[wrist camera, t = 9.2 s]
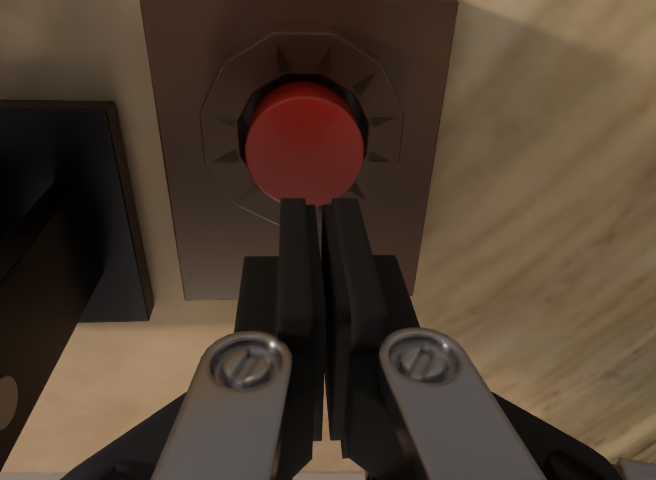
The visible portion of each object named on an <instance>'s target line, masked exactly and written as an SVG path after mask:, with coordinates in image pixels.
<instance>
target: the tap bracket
mask: <svg viewBox="0 0 656 480" xmlns="http://www.w3.org/2000/svg"><path fill="white" fill-rule="evenodd" d="M153 307H154V301H153V296H152V291H151V286H150V281H149V276H148V270H147V265H146V260H145V255H144V250H143V244H142V239H141V234H140V229H139V224H138V218H137V213H136V208H135V203H134V198H133V193H132V187H131V182H130V177H129V172H128V167H127V161H126V156H125V151H124V146H123V141H122V135H121V130H120V125H119V120H118V115H117V110H116V104H115V102H113V101H51V100H0V472H1V470H2V468H3V466H4V464H5V462H6V460H7V458H8V456H9V454H10V452H11V450H12V449H13V447H14V445H15V443H16V441H17V439H18V437H19V435H20V433H21V431H22V429H23V427H24V425H25V423H26V422H27V420H28V418H29V416H30V414H31V412H32V410H33V408H34V406H35V404H36V402H37V400H38V398H39V396H40V395H41V393H42V391H43V389H44V387H45V385H46V383H47V381H48V379H49V377H50V375H51V373H52V371H53V369H54V368H55V366H56V364H57V362H58V360H59V358H60V356H61V354H62V352H63V350H64V348H65V346H66V344H67V342H68V341H69V339H70V337H71V335H72V333H73V331H74V329H75V327H76V325H77V323H89V322H133V321H149V319H150V316H151V313H152V310H153Z"/></svg>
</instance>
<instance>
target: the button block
mask: <svg viewBox="0 0 656 480" xmlns="http://www.w3.org/2000/svg"><path fill="white" fill-rule="evenodd" d="M140 6H141V12H142V19H143V26H144V32H145V39H146V46H147V52H148V59H149V66H150V72H151V79H152V86H153V92H154V99H155V105H156V112H157V119H158V125H159V132H160V139H161V145H162V152H163V159H164V165H165V172H166V179H167V185H168V192H169V199H170V205H171V212H172V219H173V225H174V232H175V239H176V245H177V252H178V258H179V265H180V272H181V278H182V285H183V292H184V298H185V300H235V299H239V292H240V284H241V277H242V269H243V262H244V257H245V256H279V235H280V202H277V201H275V200H274V199H272V198H270V197H269V196H268V195H266V194H265V193H264V192H263V191H262V190H261V189H260V188H259V187H258V186H257V185H256V184H255V182H254V181H253V179H252V177H251V176H250V173H249V171H248V169H247V165H246V161H245V143H246V137H247V131H248V126H249V121H250V118H251V115H252V113H253V110H254V108H255V107H256V105H257V104H258V102H259V101H260V100H261V99H262V98H263V97H264V96H265V95H266V94H267V93H268V92H270V91H271V90H273V89H274V88H276V87H278V86H280V85H283V84H286V83H289V82H294V81H312V82H316V83H320V84H323V85H326V86H328V87H330V88H331V89H333V90H335V91H336V92H337V93H339V94H340V95H341V96H342V97H343V98H344V99H345V100H346V102H347V103H348V104H349V106H350V107H351V109H352V111H353V113H354V116H355V118H356V121H357V124H358V126H359V129H360V132H361V135H362V139H363V144H364V158H363V164H362V167H361V170H360V172H359V175H358V177H357V178H356V180H355V181H354V183H353V184H352V185H351V187H350V188H349V189H348V190H347V191H346V192H345V193H343V194H342V195H341V196H340V197H338V198H357V199H358V202H359V206H360V209H361V213H362V217H363V221H364V224H365V228H366V232H367V236H368V239H369V243H370V247H371V251H372V254H373V255H395V256H396V258H397V261H398V264H399V267H400V269H401V272H402V275H403V278H404V281H405V284H406V287H407V290H408V293H409V296H413V291H414V285H415V278H416V272H417V266H418V259H419V253H420V246H421V240H422V234H423V227H424V221H425V214H426V208H427V202H428V195H429V189H430V182H431V176H432V169H433V163H434V157H435V150H436V144H437V137H438V131H439V125H440V118H441V112H442V105H443V99H444V93H445V86H446V80H447V73H448V67H449V61H450V54H451V48H452V41H453V35H454V28H455V22H456V16H457V9H458V1H457V0H140ZM331 203H332V201H331V202H329V203H326V204H323V205H331ZM323 205H320V206H315V208H316V218H317V228H318V237H319V247H320V257H321V233H322V206H323Z"/></svg>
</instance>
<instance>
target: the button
mask: <svg viewBox="0 0 656 480" xmlns="http://www.w3.org/2000/svg"><path fill="white" fill-rule="evenodd" d="M363 158H364V144H363V139H362V135H361V132H360V129H359V126H358V124H357V121H356V118H355V116H354V113H353V111H352V109H351V107H350V106H349V104H348V103H347V102H346V100H345V99H344V98H343V97H342V96H341V95H340V94H339V93H337V92H336V91H335V90H333V89H331V88H330V87H328V86H326V85H323V84H320V83H316V82H312V81H294V82H289V83H286V84H283V85H280V86H278V87H276V88H274V89H273V90H271V91H270V92H268V93H267V94H266V95H265V96H264V97H263V98H262V99H261V100H260V101H259V102H258V104H257V105H256V107H255V108H254V110H253V113H252V115H251V118H250V121H249V126H248V131H247V137H246V143H245V161H246V165H247V169H248V171H249V173H250V176H251V177H252V179H253V181H254V182H255V184H256V185H257V186H258V187H259V188H260V189H261V190H262V191H263V192H264V193H265V194H266V195H268V196H269V197H270V198H272V199H274V200H275V201H277V202H280V198H305V201H306V205H315V206H320V205H323V204H326V203H329V202H331V201H332V198H338V197H340V196H341V195H342V194H343V193H345V192H346V191H347V190H348V189H349V188H350V187H351V185H352V184H353V183H354V181H355V180H356V178H357V177H358V175H359V172H360V170H361V167H362V164H363Z"/></svg>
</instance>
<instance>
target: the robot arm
mask: <svg viewBox="0 0 656 480" xmlns="http://www.w3.org/2000/svg"><path fill="white" fill-rule="evenodd" d="M324 373H325V385H326V397H327V409H328V421H329V432H330V440H331V441H332V440H341V448H342V458H350V459H351V460H352V461H354V462H355V463H356V464H358V465H359V466H360V467H362V468H363V469H364V470H365V478H366V480H656V464H654V463H648V462H642V461H636V460H629V459H623V458H619V459H618V461H617V463H616V465H614V464H610V462H609V461H608V460H607V459H606V458H605V457H603V456H602V455H600V454H599V453H597V452H596V451H595V450H593V449H592V448H590V447H589V446H587V445H585V444H583V443H582V442H580V441H578V440H576V439H574V438H573V437H571V436H569V435H567V434H566V433H564V432H562V431H560V430H559V429H557V428H555V427H553V426H551V425H550V424H548V423H546V422H544V421H543V420H541V419H539V418H537V417H535V416H534V415H532V414H530V413H528V412H527V411H525V410H523V409H521V408H520V407H518V406H516V405H514V404H512V403H511V402H509V401H507V400H505V399H504V398H502V397H500V396H498V395H496V394H495V393H493V392H491V391H490V390H489V388H488V386H487V385H486V383H485V382H484V380H483V379H482V377H481V376H480V374H479V372H478V371H477V369H476V368H475V366H474V365H473V363H472V361H471V360H470V358H469V357H468V355H467V354H466V352H465V351H464V349H463V348H462V347H461V346H460V345H459V344H458V343H457V342H456V341H455V340H453V339H452V338H450V337H449V336H447V335H446V334H443V333H441V332H438V331H436V330H432V329H427V328H422V327H420V326H419V323H418V320H417V317H416V314H415V311H414V308H413V305H412V302H411V299H410V296H409V293H408V290H407V287H406V284H405V281H404V278H403V275H402V272H401V269H400V267H399V264H398V261H397V258H396V256H395V255H373V254H372V251H371V247H370V243H369V239H368V236H367V232H366V228H365V224H364V221H363V217H362V213H361V209H360V206H359V202H358V199H357V198H332V203H331V205H323V206H322V233H321V257H320V247H319V237H318V228H317V218H316V208H315V205H306V201H305V198H280V235H279V256H245V257H244V262H243V269H242V277H241V284H240V292H239V299H238V307H237V314H236V321H235V329H234V333H233V334H229V335H227V336H224V337H222V338H220V339H218V340H216V341H215V342H214V343H213V344H212V345H210V346H209V347H208V348H207V349H206V351H205V353H204V354H203V356H202V357H201V359H200V362H199V364H198V366H197V369H196V371H195V374H194V376H193V379H192V381H191V383H190V386H189V388H188V391H187V392H185V393H184V394H183V395H181V396H180V397H178V398H177V399H175V400H174V401H172V402H171V403H169V404H168V405H166V406H165V407H163V408H162V409H160V410H159V411H157V412H156V413H154V414H153V415H152V416H150V417H149V418H147V419H146V420H144V421H143V422H141V423H140V424H138V425H137V426H135V427H134V428H132V429H131V430H129V431H128V432H126V433H125V434H124V435H122V436H121V437H119V438H118V439H116V440H115V441H113V442H112V443H110V444H109V445H107V446H106V447H104V448H103V449H101V450H100V451H98V452H97V453H95V454H94V455H93V456H91V457H90V458H88V459H87V460H85V461H84V462H82V463H81V464H79V465H78V466H76V467H75V468H73V469H72V470H71V471H70V472H69V473H67V474H66V475H65V476H64V477H63V478H62V479H60V480H292V479H293V477H294V476H295V475H296V474H297V473H298V472H299V471H300V470H301V469H302V468H303V467H304V466H305V465H306V464H307V463H308V462H309V461H310V460H311V459H312V446H313V441H322V421H323V396H324Z"/></svg>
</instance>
